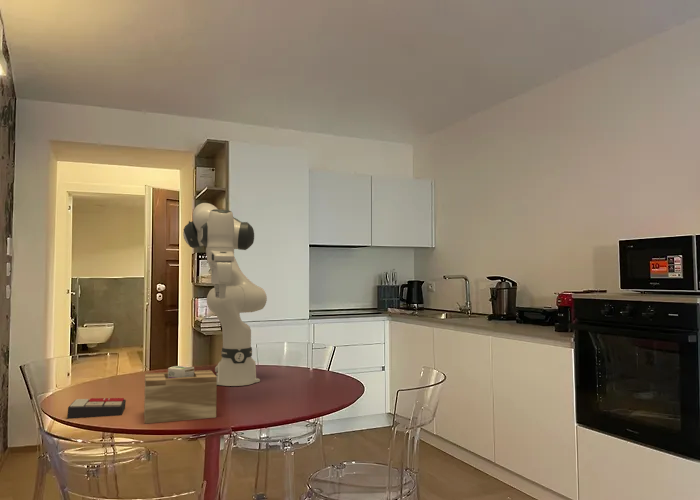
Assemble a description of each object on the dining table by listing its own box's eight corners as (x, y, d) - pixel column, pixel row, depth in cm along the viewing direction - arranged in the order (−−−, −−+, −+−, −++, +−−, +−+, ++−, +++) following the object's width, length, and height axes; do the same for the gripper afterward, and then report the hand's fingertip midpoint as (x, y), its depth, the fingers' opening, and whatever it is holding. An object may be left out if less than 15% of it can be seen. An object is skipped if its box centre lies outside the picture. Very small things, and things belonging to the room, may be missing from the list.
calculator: (122, 404, 165) (67, 404, 161) (121, 418, 165) (66, 419, 161) (126, 396, 176) (75, 397, 171) (125, 410, 175) (73, 411, 171)
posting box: (144, 412, 168) (145, 373, 169) (210, 407, 175) (210, 369, 176) (144, 423, 155) (145, 381, 156) (216, 417, 162) (216, 376, 163)
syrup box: (165, 416, 164) (166, 367, 165) (178, 411, 169) (179, 364, 170) (181, 417, 162) (182, 368, 162) (193, 413, 167) (194, 365, 168)
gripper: (207, 258, 191) (206, 297, 190) (215, 255, 172) (214, 299, 171) (225, 258, 193) (224, 297, 192) (235, 255, 174) (234, 298, 173)
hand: (220, 298), depth 181 cm, fingers open, 8 cm apart
